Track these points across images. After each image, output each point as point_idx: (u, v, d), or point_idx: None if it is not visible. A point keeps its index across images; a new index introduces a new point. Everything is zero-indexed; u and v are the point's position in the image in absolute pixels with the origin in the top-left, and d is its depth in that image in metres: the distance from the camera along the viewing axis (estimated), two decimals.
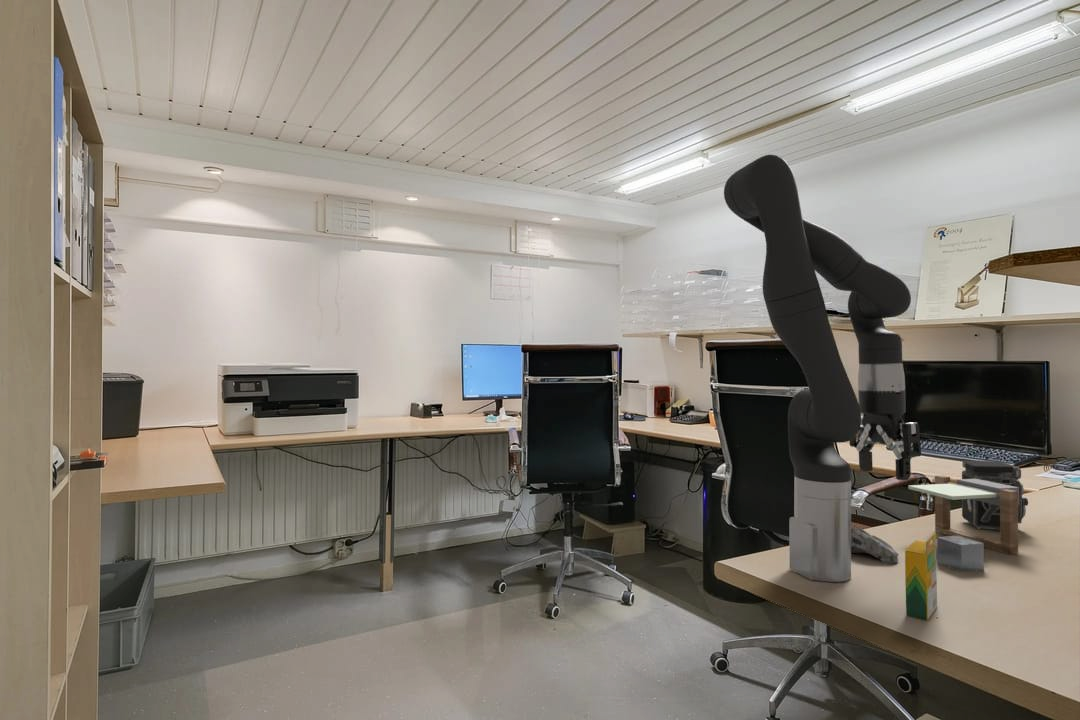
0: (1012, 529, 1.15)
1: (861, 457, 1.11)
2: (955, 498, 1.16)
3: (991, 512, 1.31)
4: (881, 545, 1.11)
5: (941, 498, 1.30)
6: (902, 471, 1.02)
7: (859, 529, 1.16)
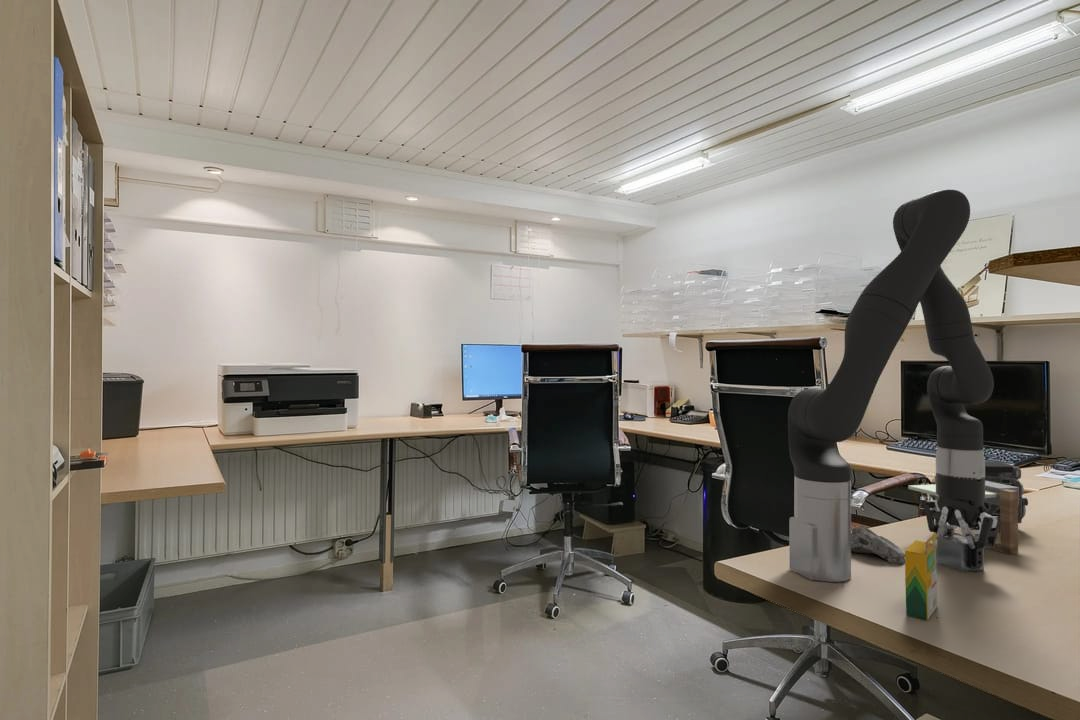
0: (1012, 529, 1.15)
1: None
2: None
3: (991, 512, 1.31)
4: (888, 545, 1.11)
5: None
6: (974, 560, 1.05)
7: (866, 529, 1.15)
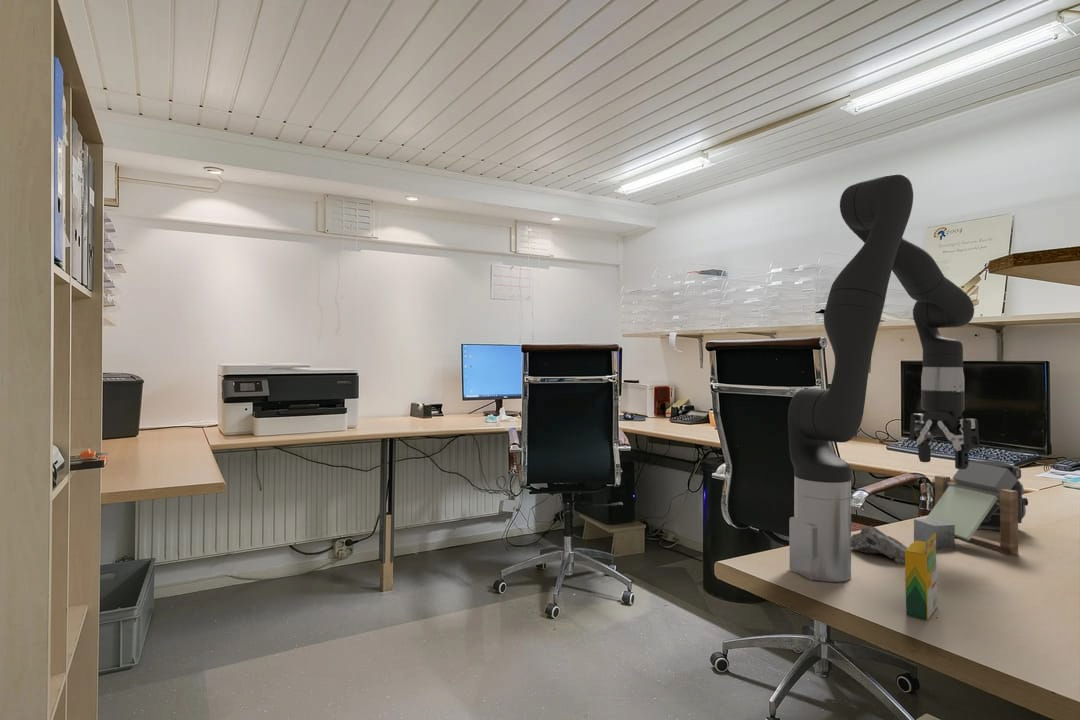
0: (1012, 529, 1.15)
1: (921, 449, 1.26)
2: (970, 536, 1.17)
3: (991, 512, 1.31)
4: (895, 546, 1.10)
5: None
6: (961, 461, 1.17)
7: (874, 529, 1.15)
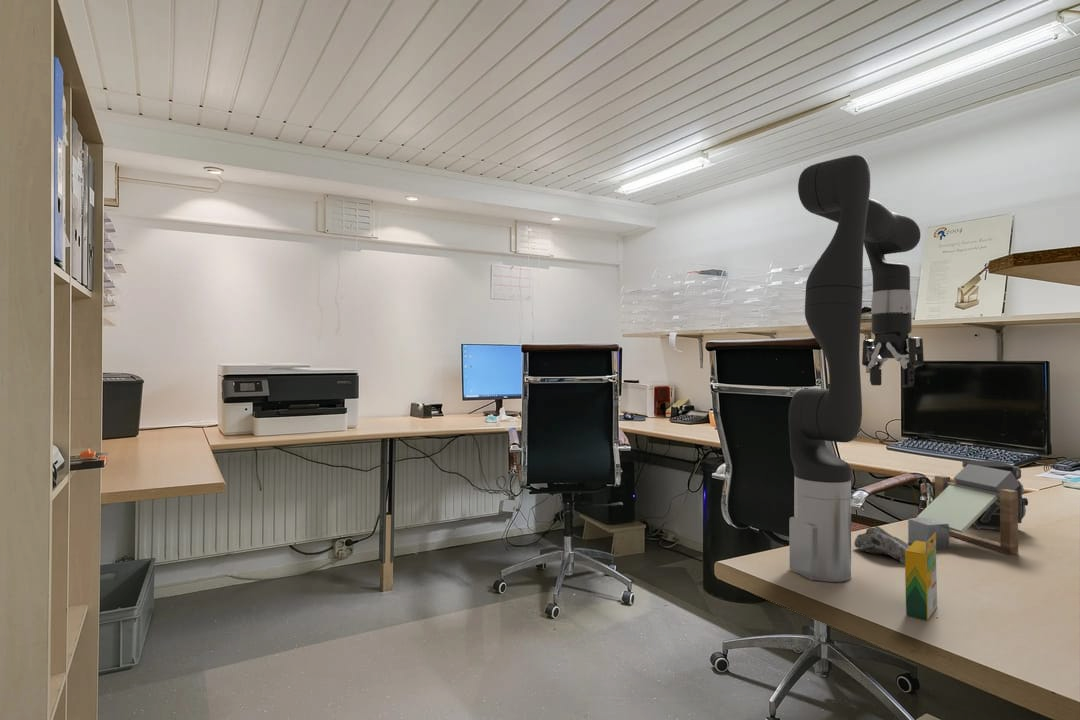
0: (1012, 529, 1.15)
1: (872, 373, 1.31)
2: (964, 529, 1.17)
3: (991, 512, 1.31)
4: (900, 546, 1.10)
5: None
6: (907, 379, 1.22)
7: (879, 530, 1.15)
